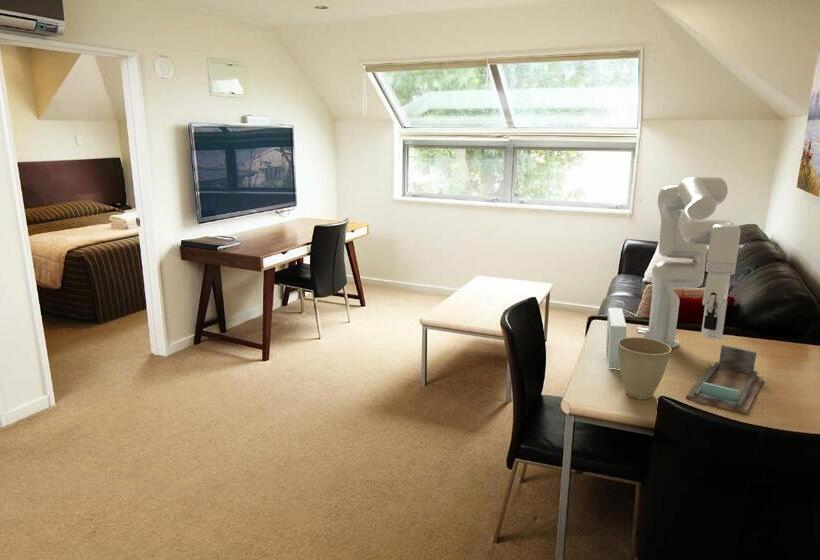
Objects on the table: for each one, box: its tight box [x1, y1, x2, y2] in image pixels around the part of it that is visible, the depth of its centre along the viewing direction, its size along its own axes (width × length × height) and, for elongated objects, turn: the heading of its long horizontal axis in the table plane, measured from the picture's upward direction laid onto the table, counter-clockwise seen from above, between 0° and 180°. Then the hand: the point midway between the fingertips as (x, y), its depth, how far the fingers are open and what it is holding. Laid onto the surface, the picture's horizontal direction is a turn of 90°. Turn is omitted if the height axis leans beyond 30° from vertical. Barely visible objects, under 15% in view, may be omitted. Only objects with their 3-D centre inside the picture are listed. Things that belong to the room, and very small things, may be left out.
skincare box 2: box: [700, 299, 728, 340], centre depth 169 cm, size 6×4×12 cm
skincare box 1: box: [605, 307, 627, 369], centre depth 201 cm, size 21×6×16 cm, turn 164°
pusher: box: [701, 382, 739, 402], centre depth 170 cm, size 9×1×4 cm, turn 51°
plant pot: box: [618, 336, 673, 400], centre depth 174 cm, size 15×15×16 cm
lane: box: [686, 344, 764, 415], centre depth 178 cm, size 16×30×9 cm, turn 141°
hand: (712, 325), depth 169 cm, fingers closed on skincare box 2, 7 cm apart
